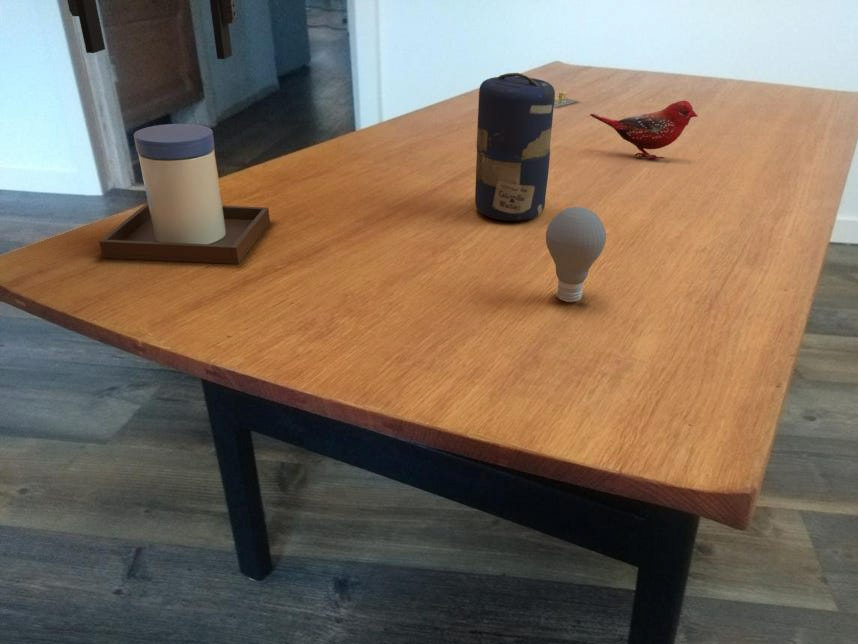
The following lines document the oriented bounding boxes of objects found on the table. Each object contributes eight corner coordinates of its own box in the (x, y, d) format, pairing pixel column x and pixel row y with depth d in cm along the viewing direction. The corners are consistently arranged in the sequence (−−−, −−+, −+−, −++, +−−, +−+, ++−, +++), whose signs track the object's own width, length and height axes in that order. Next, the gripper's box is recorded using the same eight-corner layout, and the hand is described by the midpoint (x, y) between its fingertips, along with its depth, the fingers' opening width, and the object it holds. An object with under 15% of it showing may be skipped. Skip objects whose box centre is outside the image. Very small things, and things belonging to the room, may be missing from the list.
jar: (143, 246, 85) (122, 144, 79) (170, 221, 92) (152, 126, 86) (213, 249, 85) (197, 148, 79) (234, 224, 92) (222, 129, 86)
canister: (510, 197, 107) (518, 63, 98) (559, 215, 101) (572, 75, 92) (459, 210, 101) (463, 70, 92) (508, 231, 95) (517, 83, 86)
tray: (102, 258, 83) (98, 241, 82) (150, 217, 95) (147, 202, 94) (238, 264, 83) (236, 247, 82) (270, 222, 95) (268, 207, 94)
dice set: (534, 100, 164) (535, 91, 163) (548, 97, 168) (549, 88, 167) (553, 104, 161) (554, 95, 160) (567, 101, 165) (568, 92, 164)
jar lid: (123, 157, 80) (119, 140, 79) (153, 137, 87) (150, 122, 86) (200, 160, 80) (197, 143, 79) (224, 141, 87) (222, 125, 86)
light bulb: (552, 283, 82) (561, 194, 77) (605, 295, 80) (617, 205, 75) (531, 304, 77) (539, 211, 72) (586, 318, 75) (598, 223, 70)
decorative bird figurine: (688, 166, 124) (699, 103, 119) (583, 152, 129) (590, 92, 124) (690, 161, 126) (701, 100, 121) (587, 148, 131) (594, 89, 126)
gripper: (267, -184, 71) (286, 53, 82) (5, -197, 71) (59, 43, 82) (244, -194, 65) (269, 65, 76) (-44, -208, 65) (22, 54, 76)
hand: (160, 54), depth 79 cm, fingers open, 13 cm apart
